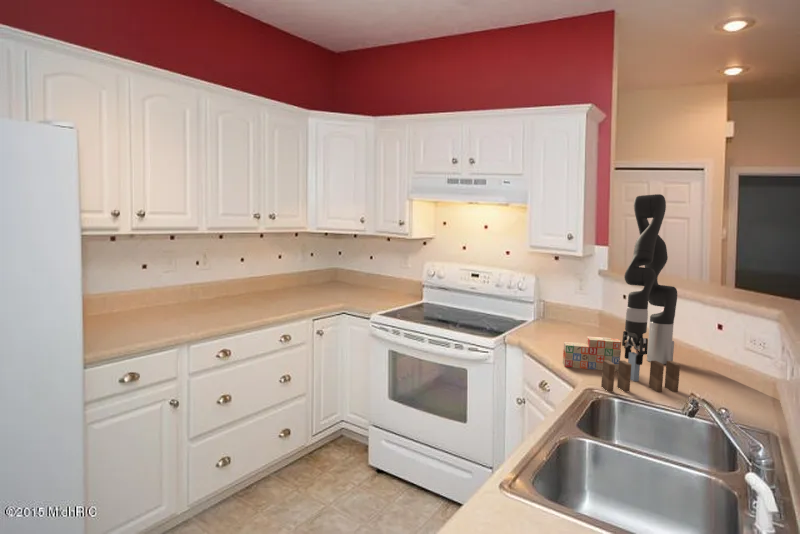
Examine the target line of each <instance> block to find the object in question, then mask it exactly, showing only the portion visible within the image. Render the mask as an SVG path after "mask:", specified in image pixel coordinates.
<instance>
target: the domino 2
mask: <svg viewBox="0 0 800 534" xmlns="http://www.w3.org/2000/svg"><path fill="white" fill-rule="evenodd" d="M636 355H637V353H636V351H635V352H634V351H631V352H629V357H628V359H627V360H628V361H627V362H628V363H630V364H631V378H630V381H632V382H639V381H640V368H641V365H637V364H636Z"/></svg>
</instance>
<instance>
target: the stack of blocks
mask: <svg viewBox="0 0 800 534" xmlns="http://www.w3.org/2000/svg"><path fill="white" fill-rule="evenodd" d="M621 347H622V342H621V340H620V339H619V338H611V337H599V336H586V343H584V342H583V343H582V342H569V341H568V342H567V341H564V342H563V350H562V351H563V354H562V355H563V356H562V364H563V367H565V368H573V369H574V368H575V369H583V370H584V369H586V370H597V371H598V370H599V371H600V370H601V371H602V369H603V360H609V361H610V362H612V363H614V364H615V372H618V369H619V360H621V354H622V353H621V352H622V348H621Z"/></svg>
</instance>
